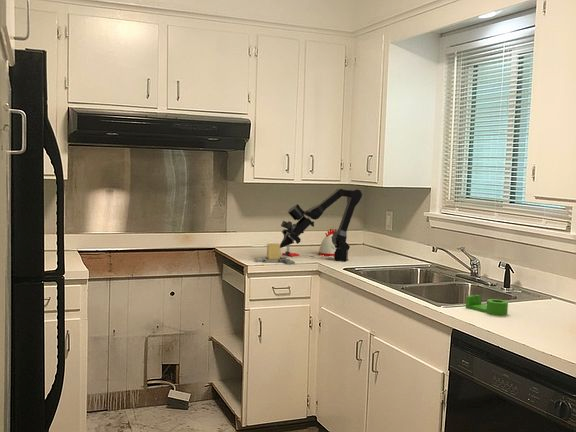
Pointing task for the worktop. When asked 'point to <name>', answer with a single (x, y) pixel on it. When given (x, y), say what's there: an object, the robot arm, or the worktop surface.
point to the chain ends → (275, 260)
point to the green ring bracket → (492, 305)
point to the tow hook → (289, 253)
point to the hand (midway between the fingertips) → (279, 247)
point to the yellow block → (273, 251)
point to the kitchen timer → (327, 245)
